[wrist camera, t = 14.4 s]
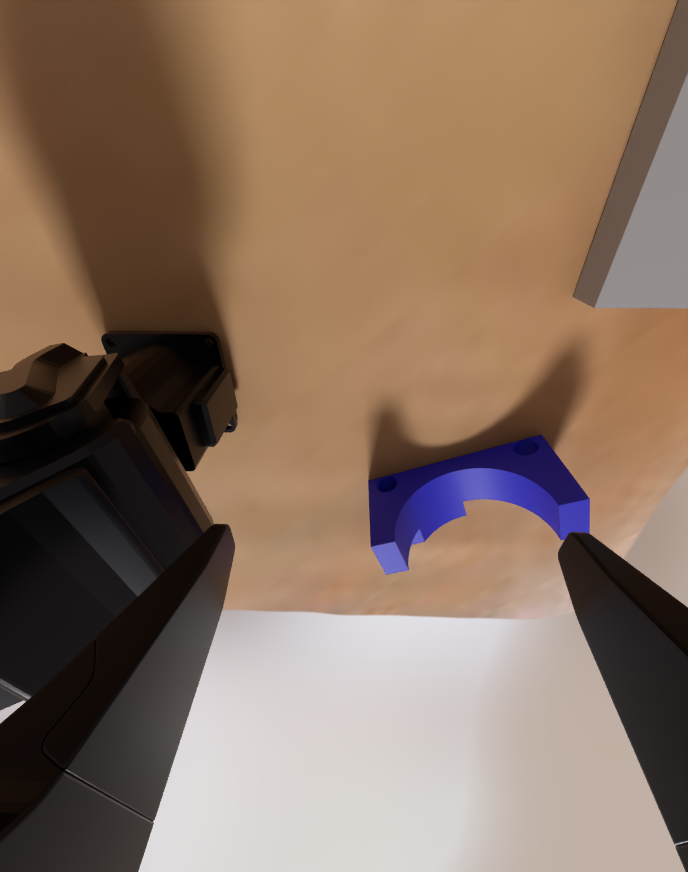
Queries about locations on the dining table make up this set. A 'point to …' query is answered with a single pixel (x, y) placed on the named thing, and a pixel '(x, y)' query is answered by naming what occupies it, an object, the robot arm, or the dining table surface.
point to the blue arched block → (472, 495)
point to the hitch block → (648, 197)
